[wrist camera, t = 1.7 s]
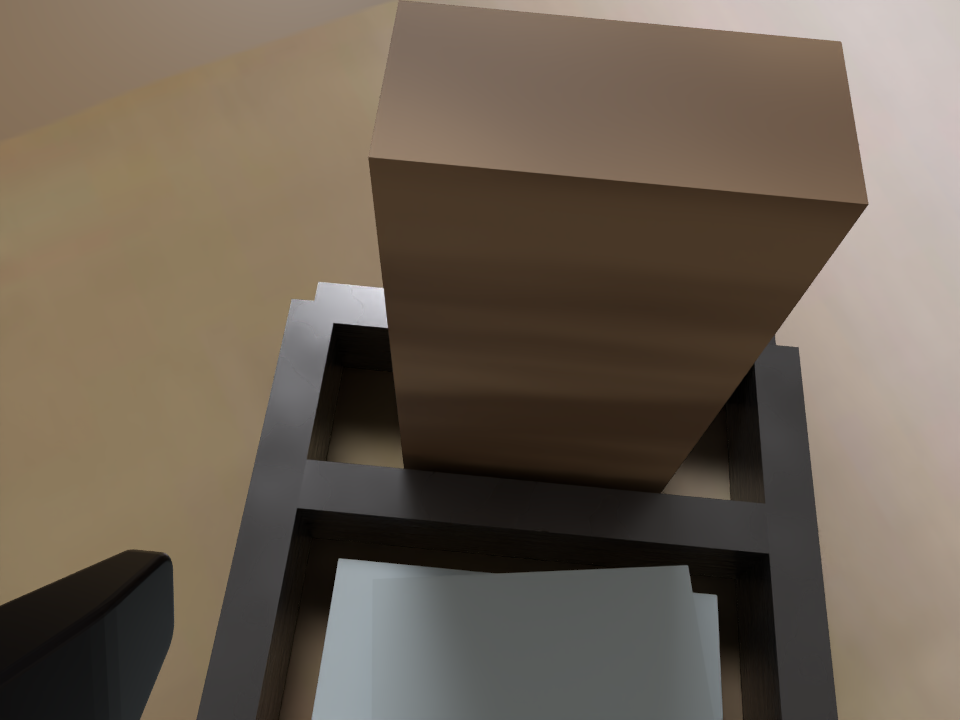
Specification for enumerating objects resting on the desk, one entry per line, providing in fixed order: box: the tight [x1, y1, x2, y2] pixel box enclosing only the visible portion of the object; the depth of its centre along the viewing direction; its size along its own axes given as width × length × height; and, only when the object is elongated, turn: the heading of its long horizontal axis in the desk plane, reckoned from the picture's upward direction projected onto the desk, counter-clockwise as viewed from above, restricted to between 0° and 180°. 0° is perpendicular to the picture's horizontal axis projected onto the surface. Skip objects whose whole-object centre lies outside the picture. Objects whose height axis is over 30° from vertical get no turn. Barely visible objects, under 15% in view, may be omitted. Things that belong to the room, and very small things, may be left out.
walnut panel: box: [368, 0, 868, 494], centre depth 17 cm, size 3×6×13 cm, turn 85°
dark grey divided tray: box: [197, 282, 838, 720], centre depth 20 cm, size 16×13×2 cm
